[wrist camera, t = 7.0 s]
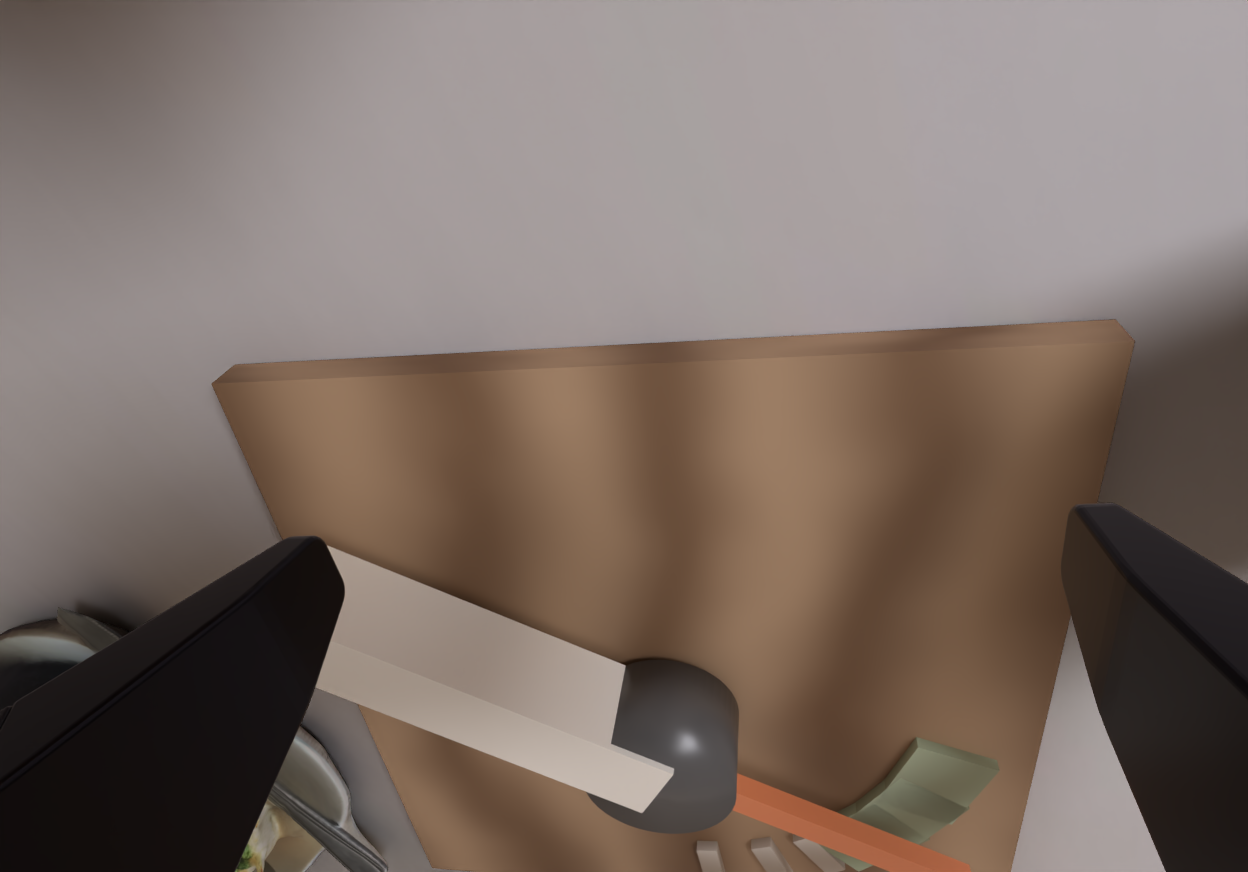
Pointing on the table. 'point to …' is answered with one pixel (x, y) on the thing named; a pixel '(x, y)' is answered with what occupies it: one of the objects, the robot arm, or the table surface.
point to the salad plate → (300, 798)
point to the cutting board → (726, 559)
